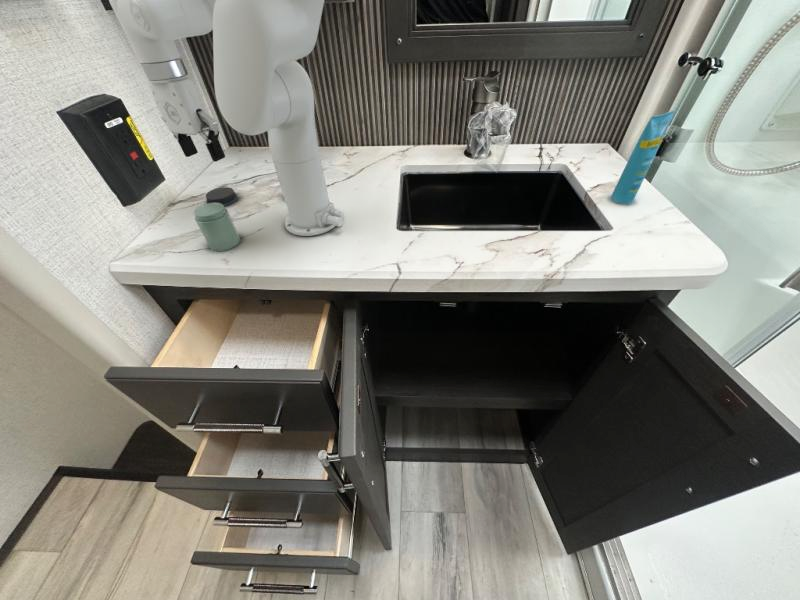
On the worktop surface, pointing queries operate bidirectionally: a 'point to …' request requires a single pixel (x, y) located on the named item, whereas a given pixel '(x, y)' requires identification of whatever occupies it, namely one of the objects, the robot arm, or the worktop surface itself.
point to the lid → (221, 195)
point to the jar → (217, 226)
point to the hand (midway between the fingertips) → (205, 157)
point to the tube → (641, 159)
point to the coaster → (230, 201)
